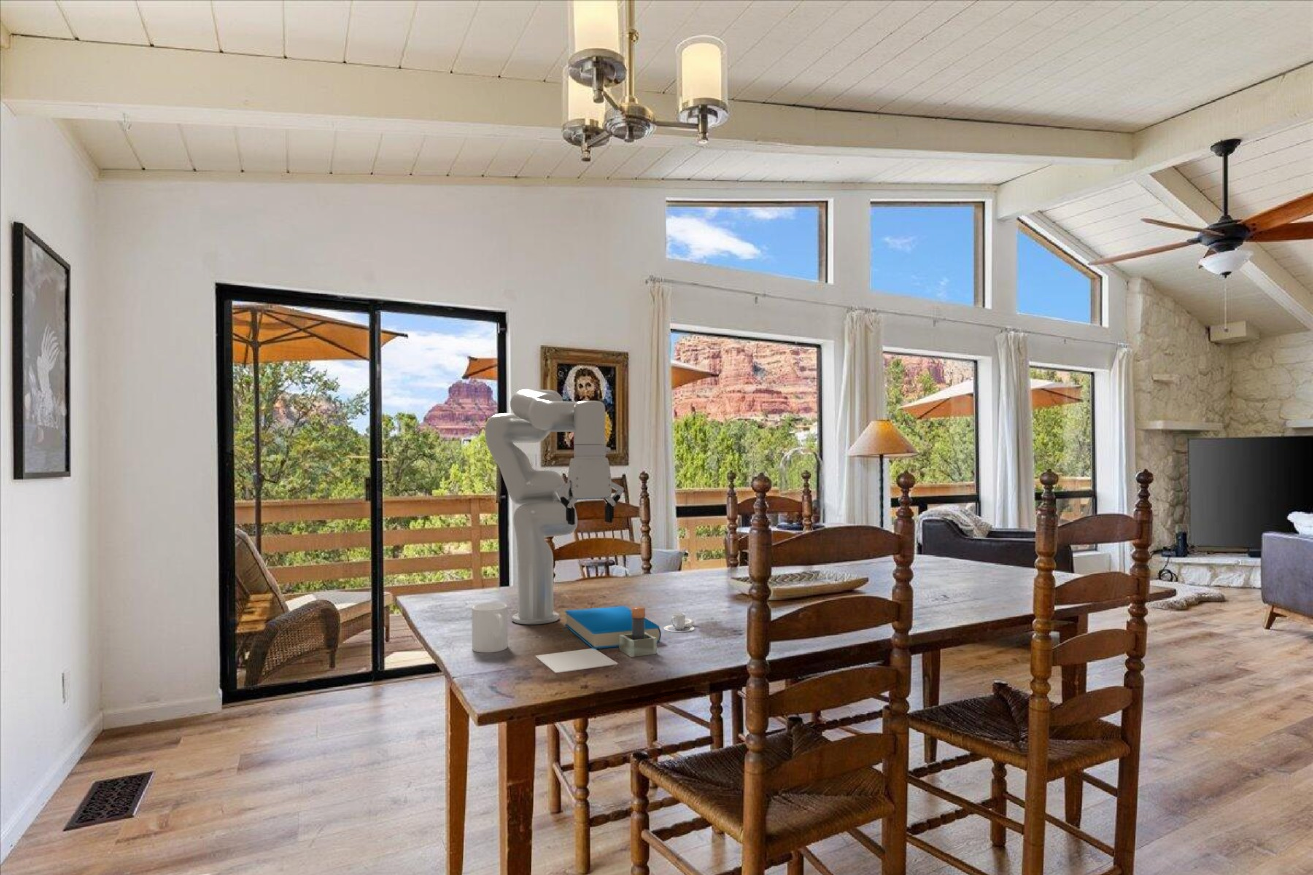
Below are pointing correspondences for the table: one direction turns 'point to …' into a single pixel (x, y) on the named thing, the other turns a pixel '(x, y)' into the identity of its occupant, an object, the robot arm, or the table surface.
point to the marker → (638, 623)
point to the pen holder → (638, 645)
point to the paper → (575, 660)
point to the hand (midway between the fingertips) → (590, 523)
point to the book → (605, 625)
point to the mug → (489, 627)
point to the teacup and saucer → (680, 623)
